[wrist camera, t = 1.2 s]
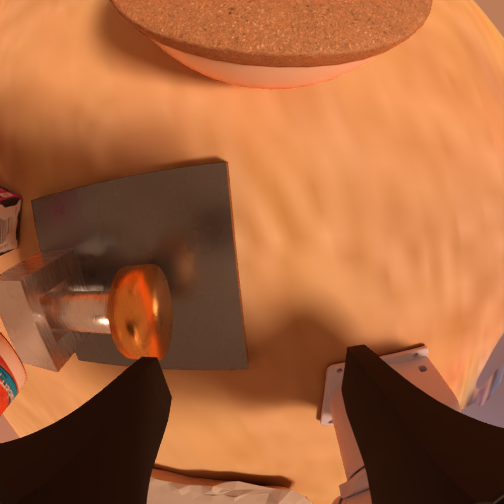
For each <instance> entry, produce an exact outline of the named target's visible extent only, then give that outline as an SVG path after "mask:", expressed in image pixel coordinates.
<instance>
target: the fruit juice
mask: <svg viewBox="0 0 504 504" xmlns="http://www.w3.org/2000/svg"><path fill="white" fill-rule="evenodd" d="M25 382H26V374H25V370H24V368H23V365H22V363H21V361H20V359H19V358H18V356H17V354H16V353H15V351H14V350H13V348H12V347H11V346H10V344H9V343H8V342H7V341H6V339H5V338H4V337H3V336H2V335H1V334H0V416H1V415H2V413H3V412H4V411H5V409H6V408H7V407H8V405H9V404H10V403H11V402H12V400H13V399H14V398H15V397H16V395H17V394H18V393H19V392H20V390H21V389H22V388H23V386H24V384H25Z"/></svg>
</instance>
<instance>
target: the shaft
mask: <svg viewBox="0 0 504 504" xmlns="http://www.w3.org/2000/svg"><path fill="white" fill-rule="evenodd" d="M39 301H40V304H41V306H42V309H43V312H44V315H45V317H46V320H47V322H48V325H49V327H50V328H52V329H60V330H70V331H81V332H93V333H107V334H111V335H112V338H113V340H114V343H115V345H116V347H117V348H118V350H119V351H120V352H121V353H122V354H123V355H124V356H125V357H127V358H129V359H139V358H141V357H142V356H143V357H157V358H158V360H161V359H162V358H163V357H164V356H165V355H166V353H167V351H168V349H169V346H170V342H171V337H172V328H173V310H172V300H171V294H170V289H169V285H168V282H167V279H166V277H165V275H164V273H163V271H162V270H161V268H160V267H159V266H157V265H155V264H147V265H132V266H124V267H122V268H121V269H120V270H119V271H118V272H117V273H116V275H115V277H114V279H113V281H112V284H111V287H110V291H49V292H47V293H46V294H45V295H43V296H42V297H41V298H39Z"/></svg>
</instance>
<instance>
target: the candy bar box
mask: <svg viewBox="0 0 504 504" xmlns="http://www.w3.org/2000/svg"><path fill="white" fill-rule="evenodd" d="M21 205H22V197H21V196H19V195H17V194H15V193H12V192H10V191H8V190H6V189H4V188H2V187H0V256H1V255H3V254H5V253H7V252H9V251H11V250H13V249H17V248H18V240H19V223H20V215H21Z"/></svg>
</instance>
